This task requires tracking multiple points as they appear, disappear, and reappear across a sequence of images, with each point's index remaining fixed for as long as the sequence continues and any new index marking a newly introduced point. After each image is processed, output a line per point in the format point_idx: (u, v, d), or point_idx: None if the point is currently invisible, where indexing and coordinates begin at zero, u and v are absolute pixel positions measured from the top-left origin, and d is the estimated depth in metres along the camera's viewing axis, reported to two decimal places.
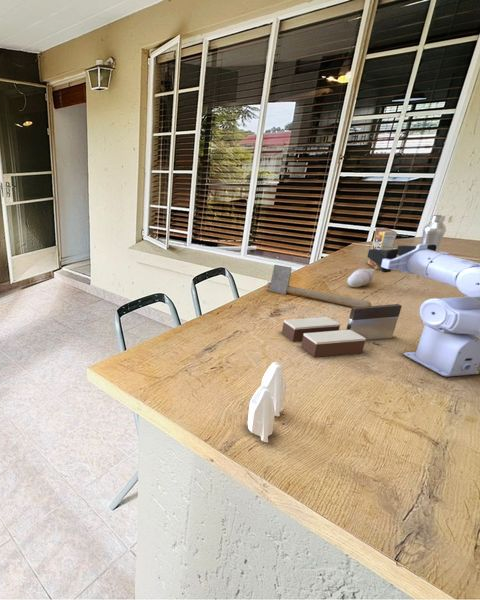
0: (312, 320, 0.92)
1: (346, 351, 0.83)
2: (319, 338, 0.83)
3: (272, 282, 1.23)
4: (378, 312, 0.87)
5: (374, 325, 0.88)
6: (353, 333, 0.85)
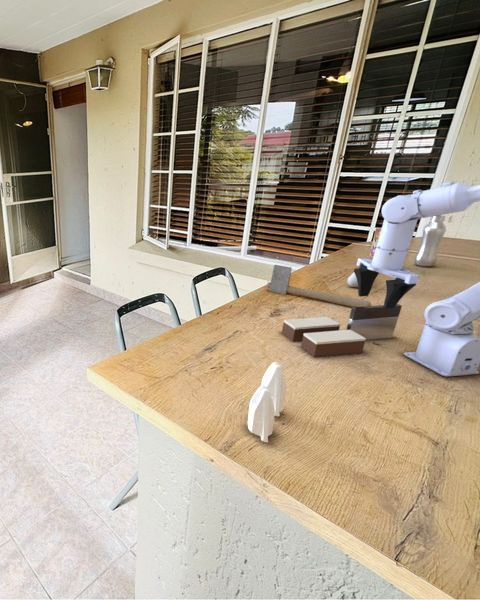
0: (312, 320, 0.92)
1: (346, 351, 0.83)
2: (319, 338, 0.83)
3: (272, 282, 1.23)
4: (378, 312, 0.87)
5: (374, 325, 0.88)
6: (353, 333, 0.85)
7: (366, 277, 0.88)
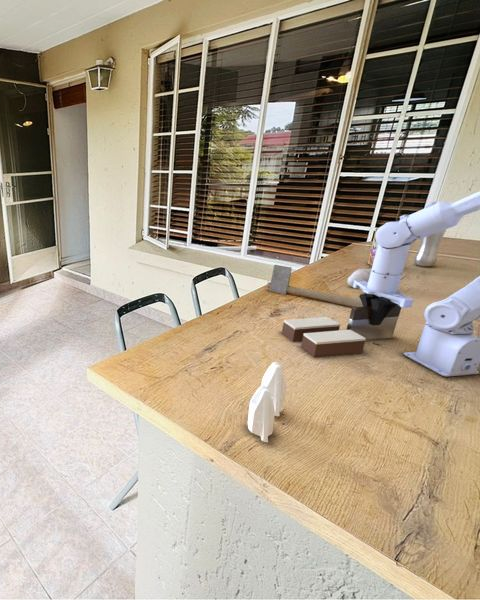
0: (312, 320, 0.92)
1: (346, 351, 0.83)
2: (319, 338, 0.83)
3: (272, 282, 1.23)
4: None
5: (374, 325, 0.88)
6: (353, 333, 0.85)
7: (372, 303, 0.87)
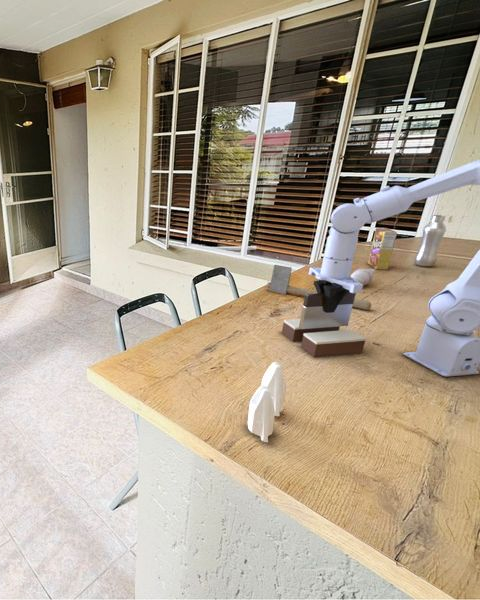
0: None
1: (346, 351, 0.83)
2: (319, 338, 0.83)
3: (272, 282, 1.23)
4: None
5: None
6: (353, 333, 0.85)
7: None
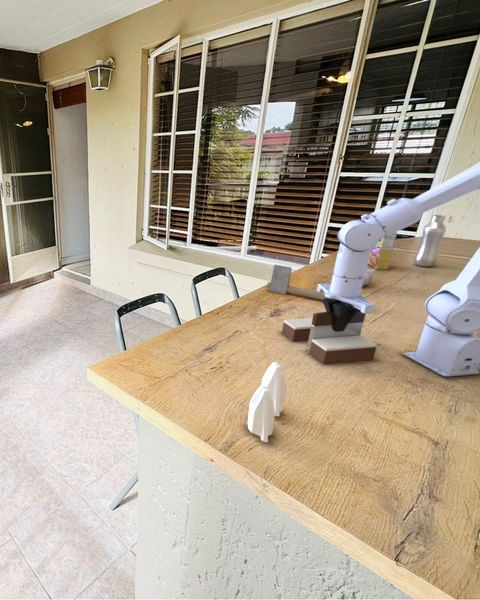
0: None
1: (356, 358, 0.80)
2: (329, 344, 0.80)
3: (272, 282, 1.23)
4: None
5: None
6: (364, 339, 0.82)
7: None
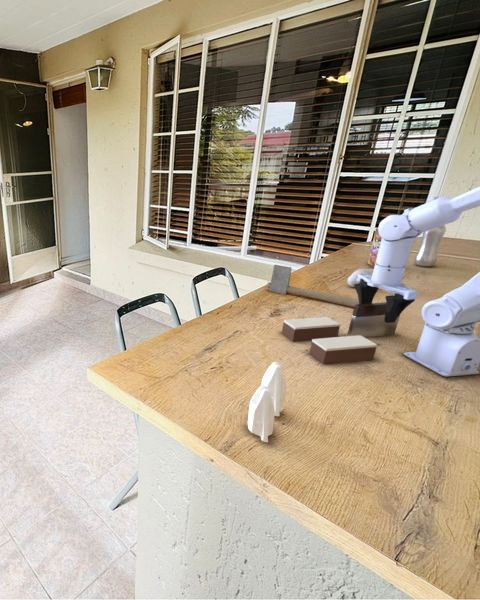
0: (312, 320, 0.92)
1: (356, 358, 0.80)
2: (329, 344, 0.80)
3: (272, 282, 1.23)
4: (381, 309, 0.88)
5: (377, 322, 0.89)
6: (364, 339, 0.82)
7: (366, 292, 0.91)
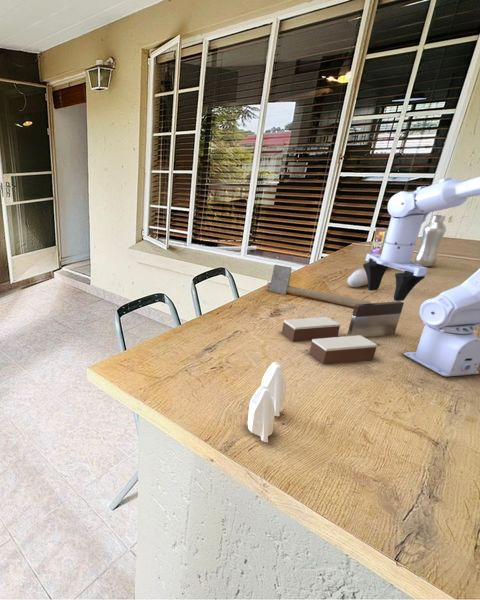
0: (312, 320, 0.92)
1: (356, 358, 0.80)
2: (329, 344, 0.80)
3: (272, 282, 1.23)
4: (381, 309, 0.88)
5: (377, 322, 0.89)
6: (364, 339, 0.82)
7: (375, 271, 0.91)
